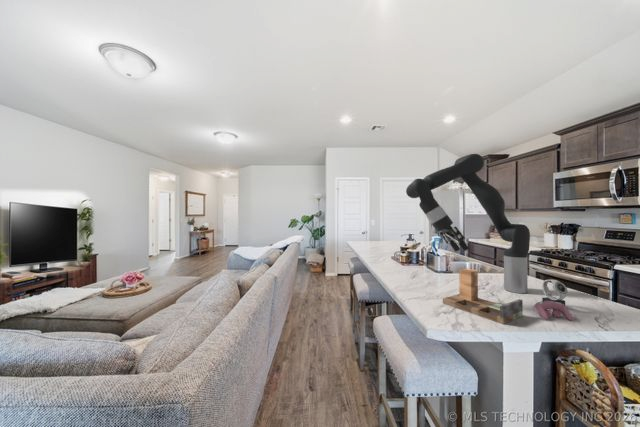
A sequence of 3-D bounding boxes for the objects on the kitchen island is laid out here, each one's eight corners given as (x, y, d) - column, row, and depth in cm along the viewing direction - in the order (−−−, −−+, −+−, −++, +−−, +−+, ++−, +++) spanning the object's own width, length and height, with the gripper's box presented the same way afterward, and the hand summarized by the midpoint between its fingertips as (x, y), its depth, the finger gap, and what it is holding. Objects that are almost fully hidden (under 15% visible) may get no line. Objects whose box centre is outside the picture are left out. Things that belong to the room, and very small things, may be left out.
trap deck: (462, 297, 112) (462, 284, 112) (522, 315, 92) (522, 300, 92) (442, 303, 105) (442, 289, 105) (503, 324, 85) (503, 307, 85)
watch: (558, 310, 96) (558, 283, 96) (538, 303, 104) (538, 277, 104) (571, 310, 97) (570, 282, 97) (549, 302, 105) (549, 277, 105)
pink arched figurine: (565, 321, 90) (558, 301, 93) (576, 320, 86) (567, 300, 89) (537, 320, 91) (530, 301, 94) (546, 319, 87) (538, 299, 90)
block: (466, 295, 109) (466, 268, 109) (477, 298, 105) (477, 270, 105) (459, 297, 107) (459, 269, 107) (471, 300, 102) (471, 272, 102)
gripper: (452, 211, 101) (478, 244, 97) (440, 216, 115) (462, 246, 111) (436, 220, 101) (461, 254, 97) (426, 225, 115) (448, 255, 111)
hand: (462, 250), depth 104 cm, fingers open, 8 cm apart
